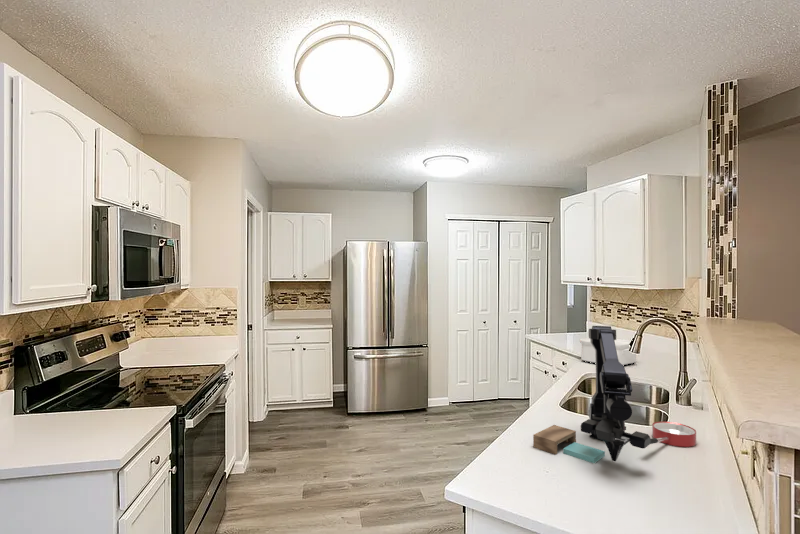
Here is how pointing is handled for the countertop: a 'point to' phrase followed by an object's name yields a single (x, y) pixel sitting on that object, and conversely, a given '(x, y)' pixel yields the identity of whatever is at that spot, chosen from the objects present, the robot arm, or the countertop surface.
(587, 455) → the teal rectangular slab
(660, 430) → the frying pan
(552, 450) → the overhang
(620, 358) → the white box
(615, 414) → the robot arm
